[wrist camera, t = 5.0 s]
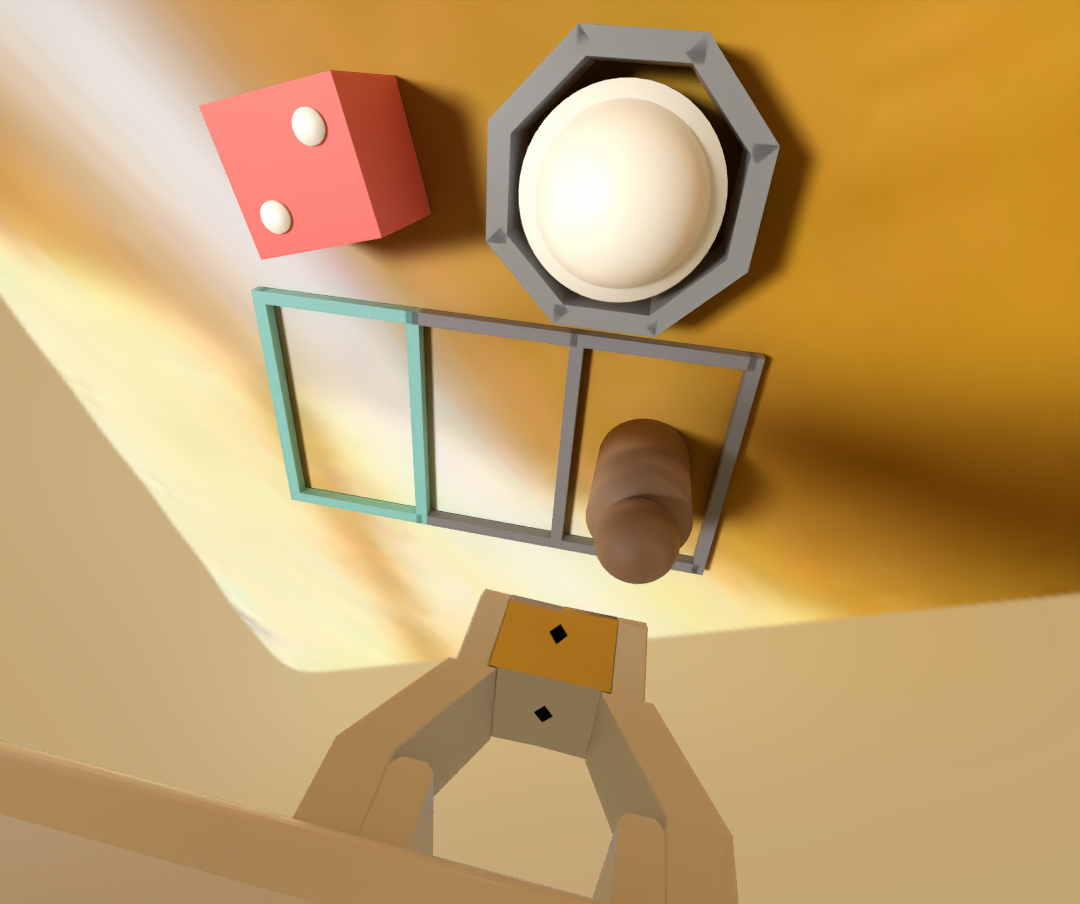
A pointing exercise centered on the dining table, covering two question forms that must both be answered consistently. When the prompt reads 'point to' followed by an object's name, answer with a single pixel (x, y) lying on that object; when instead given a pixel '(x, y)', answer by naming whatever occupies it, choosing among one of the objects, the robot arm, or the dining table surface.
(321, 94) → the red die
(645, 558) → the pawn
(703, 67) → the dome housing
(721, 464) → the frame
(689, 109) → the dome
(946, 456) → the dining table surface
